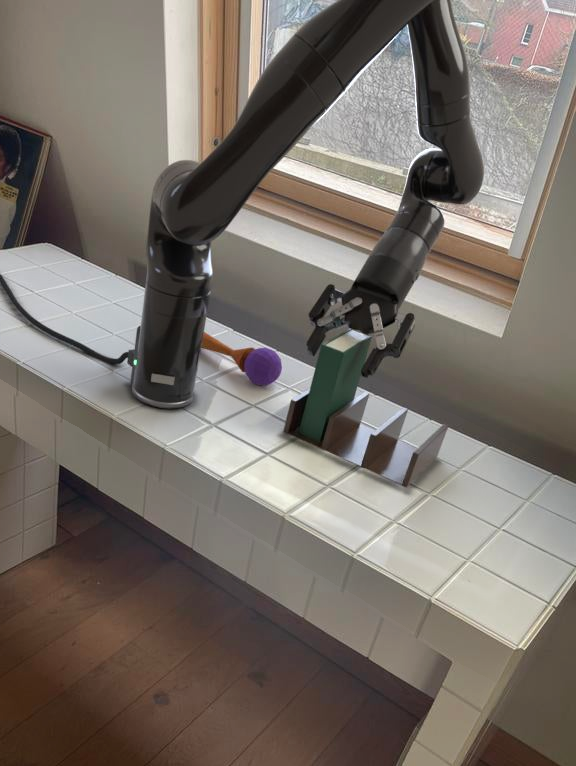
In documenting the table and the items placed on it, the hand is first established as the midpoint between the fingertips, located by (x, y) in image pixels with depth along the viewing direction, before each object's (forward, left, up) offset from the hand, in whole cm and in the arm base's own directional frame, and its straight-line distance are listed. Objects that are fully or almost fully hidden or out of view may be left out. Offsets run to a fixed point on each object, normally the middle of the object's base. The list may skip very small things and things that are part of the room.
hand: (336, 363), depth 116 cm
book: (0, +1, -11) cm, 11 cm away
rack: (+5, +3, -12) cm, 13 cm away
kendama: (-24, +1, -12) cm, 27 cm away
